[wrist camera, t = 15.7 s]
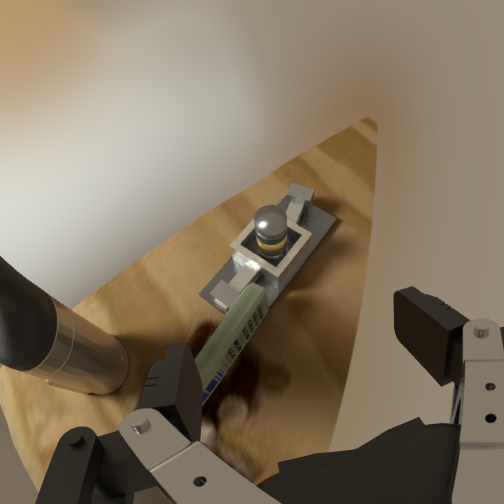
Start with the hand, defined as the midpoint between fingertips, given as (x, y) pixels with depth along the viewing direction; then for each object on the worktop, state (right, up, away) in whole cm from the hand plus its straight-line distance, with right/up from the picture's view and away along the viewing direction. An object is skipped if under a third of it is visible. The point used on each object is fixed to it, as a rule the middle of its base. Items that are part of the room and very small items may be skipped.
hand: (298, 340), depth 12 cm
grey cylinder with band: (+1, +3, +36) cm, 36 cm away
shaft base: (+1, +2, +37) cm, 37 cm away
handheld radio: (-7, -13, +29) cm, 33 cm away
